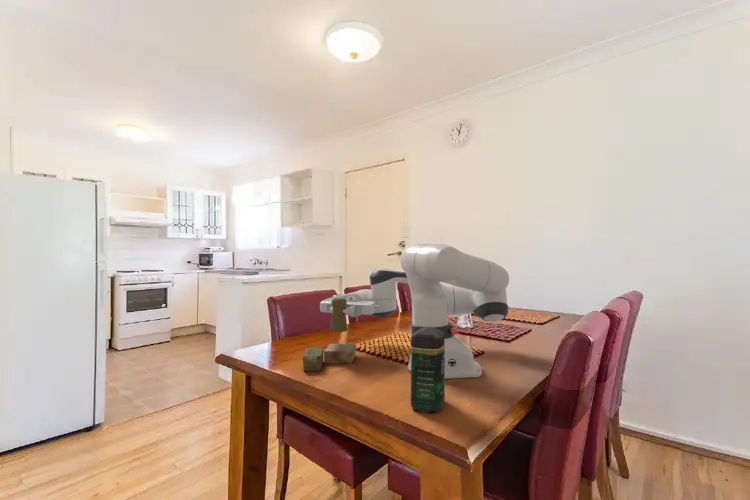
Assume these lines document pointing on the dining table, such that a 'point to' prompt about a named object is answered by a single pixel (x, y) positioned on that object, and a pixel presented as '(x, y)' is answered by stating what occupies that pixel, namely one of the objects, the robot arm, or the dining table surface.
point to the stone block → (313, 359)
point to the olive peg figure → (338, 315)
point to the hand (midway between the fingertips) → (338, 311)
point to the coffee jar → (427, 369)
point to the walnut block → (339, 353)
